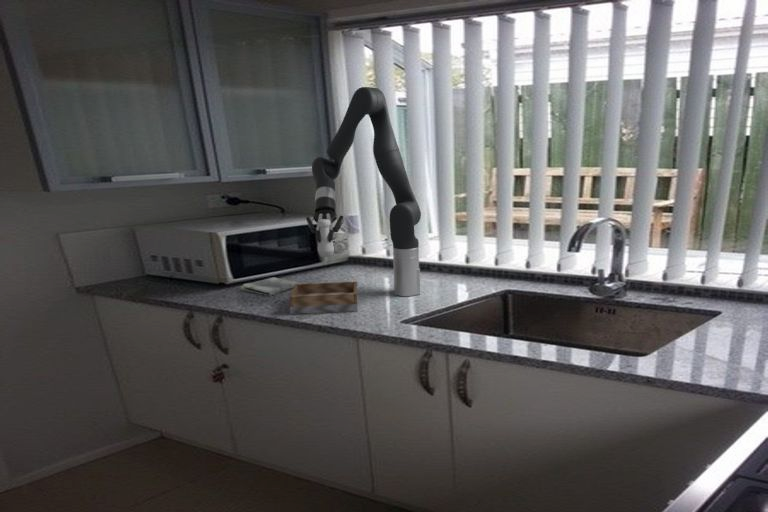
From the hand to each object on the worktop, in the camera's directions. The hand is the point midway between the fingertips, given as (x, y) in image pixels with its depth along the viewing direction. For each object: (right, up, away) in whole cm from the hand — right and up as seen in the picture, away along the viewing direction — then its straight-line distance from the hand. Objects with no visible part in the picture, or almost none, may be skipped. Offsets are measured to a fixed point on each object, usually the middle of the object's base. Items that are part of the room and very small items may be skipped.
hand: (324, 241), depth 181 cm
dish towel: (-24, -18, +24) cm, 39 cm away
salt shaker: (0, -5, +3) cm, 6 cm away
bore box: (0, -22, -1) cm, 22 cm away
